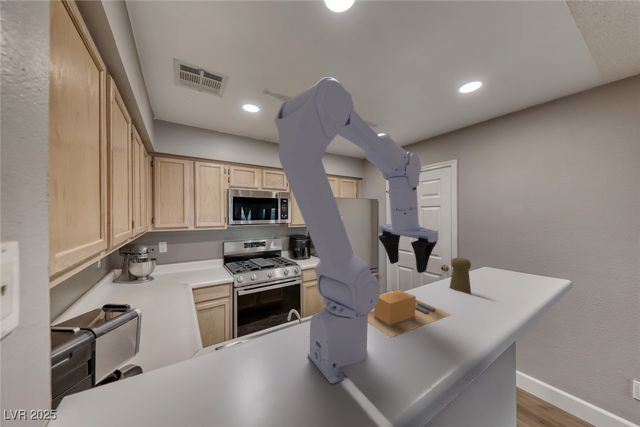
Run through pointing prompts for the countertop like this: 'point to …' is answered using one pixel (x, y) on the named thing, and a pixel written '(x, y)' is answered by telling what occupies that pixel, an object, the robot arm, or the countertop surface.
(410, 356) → the countertop surface
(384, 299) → the block
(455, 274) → the cork
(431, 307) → the graphite mark
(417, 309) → the graphite mark
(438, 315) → the pine board
